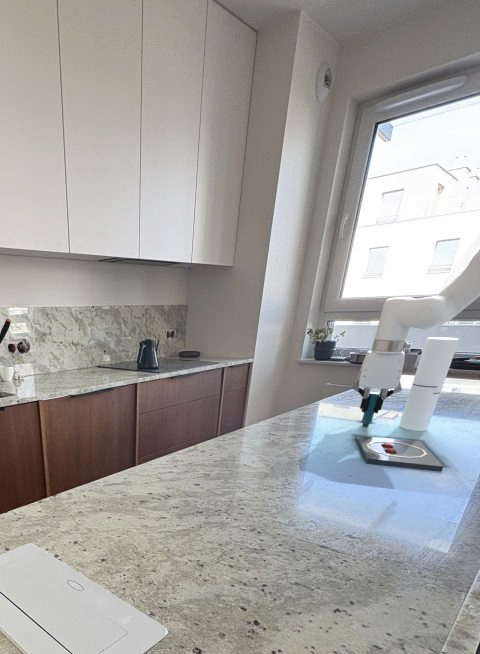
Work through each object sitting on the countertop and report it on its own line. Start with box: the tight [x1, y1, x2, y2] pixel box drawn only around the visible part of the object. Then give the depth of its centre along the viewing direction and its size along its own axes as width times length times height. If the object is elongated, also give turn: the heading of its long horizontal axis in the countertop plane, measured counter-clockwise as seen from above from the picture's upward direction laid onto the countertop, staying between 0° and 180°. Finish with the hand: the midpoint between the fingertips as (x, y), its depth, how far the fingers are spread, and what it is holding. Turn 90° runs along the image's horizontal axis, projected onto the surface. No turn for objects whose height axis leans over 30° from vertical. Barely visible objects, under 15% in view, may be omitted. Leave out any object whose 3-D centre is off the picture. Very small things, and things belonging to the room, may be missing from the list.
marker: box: [360, 391, 380, 428], centre depth 126 cm, size 3×3×10 cm
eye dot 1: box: [383, 443, 392, 448], centre depth 108 cm, size 2×2×1 cm
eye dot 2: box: [386, 448, 395, 453], centre depth 105 cm, size 2×2×1 cm
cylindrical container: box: [398, 336, 460, 432], centre depth 121 cm, size 7×7×25 cm
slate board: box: [355, 435, 444, 472], centre depth 106 cm, size 15×20×1 cm
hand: (369, 411), depth 127 cm, fingers closed on marker, 2 cm apart
